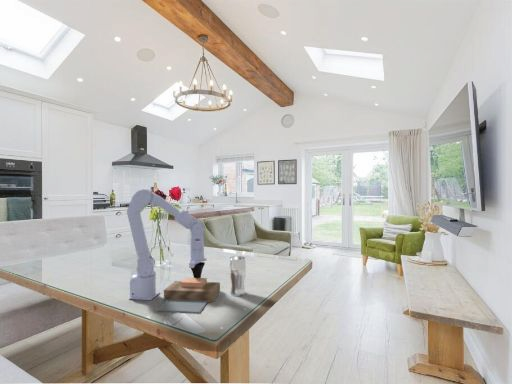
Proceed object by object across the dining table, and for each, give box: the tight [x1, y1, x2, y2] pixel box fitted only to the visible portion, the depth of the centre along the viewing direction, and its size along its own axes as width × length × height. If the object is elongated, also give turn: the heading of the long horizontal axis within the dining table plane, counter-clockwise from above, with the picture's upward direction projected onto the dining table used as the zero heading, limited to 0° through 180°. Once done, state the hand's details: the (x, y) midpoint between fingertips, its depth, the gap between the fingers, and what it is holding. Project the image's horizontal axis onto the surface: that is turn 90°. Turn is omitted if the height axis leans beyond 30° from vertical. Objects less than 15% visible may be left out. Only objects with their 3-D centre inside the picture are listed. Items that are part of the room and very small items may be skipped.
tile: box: [181, 277, 208, 288], centre depth 116 cm, size 9×6×2 cm, turn 83°
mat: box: [156, 299, 209, 314], centre depth 104 cm, size 16×10×1 cm, turn 83°
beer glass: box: [228, 255, 247, 297], centre depth 117 cm, size 7×7×15 cm
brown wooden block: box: [163, 280, 221, 303], centre depth 114 cm, size 20×11×4 cm, turn 83°
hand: (197, 280), depth 120 cm, fingers closed
